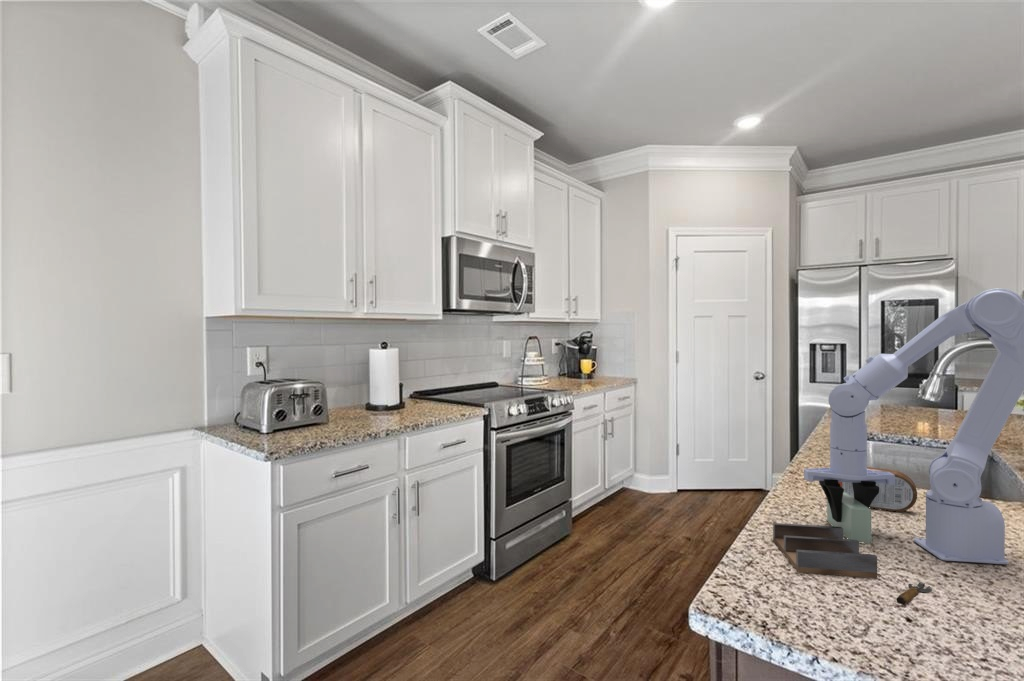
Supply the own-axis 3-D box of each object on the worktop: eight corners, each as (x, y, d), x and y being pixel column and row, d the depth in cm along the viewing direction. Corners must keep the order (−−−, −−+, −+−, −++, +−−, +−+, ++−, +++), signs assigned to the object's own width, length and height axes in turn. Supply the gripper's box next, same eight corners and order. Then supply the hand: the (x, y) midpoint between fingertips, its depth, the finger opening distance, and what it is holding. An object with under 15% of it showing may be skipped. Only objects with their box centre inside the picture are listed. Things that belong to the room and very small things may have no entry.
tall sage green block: (845, 522, 99) (845, 492, 98) (871, 543, 89) (871, 509, 89) (827, 521, 99) (827, 491, 99) (851, 542, 89) (851, 508, 89)
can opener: (905, 607, 69) (904, 598, 69) (885, 599, 71) (885, 591, 71) (936, 591, 73) (936, 583, 73) (917, 584, 75) (917, 576, 75)
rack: (841, 545, 88) (841, 526, 88) (877, 578, 76) (877, 556, 76) (773, 540, 90) (773, 522, 90) (798, 572, 78) (798, 551, 78)
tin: (916, 512, 104) (916, 471, 104) (918, 516, 101) (918, 475, 101) (830, 499, 112) (830, 461, 112) (830, 503, 109) (830, 465, 109)
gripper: (880, 444, 96) (880, 515, 97) (797, 442, 99) (797, 510, 99) (901, 453, 89) (901, 529, 90) (812, 450, 92) (812, 524, 92)
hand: (848, 520), depth 94 cm, fingers closed on tall sage green block, 3 cm apart
